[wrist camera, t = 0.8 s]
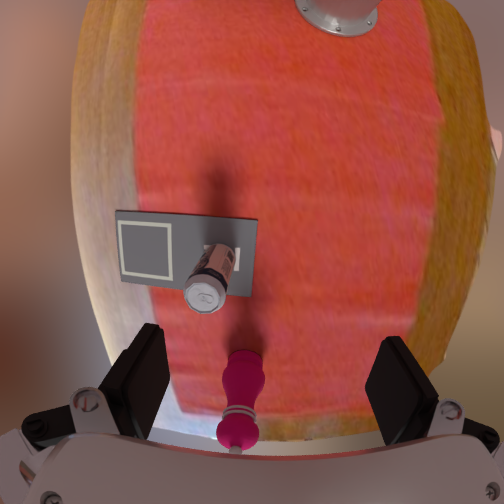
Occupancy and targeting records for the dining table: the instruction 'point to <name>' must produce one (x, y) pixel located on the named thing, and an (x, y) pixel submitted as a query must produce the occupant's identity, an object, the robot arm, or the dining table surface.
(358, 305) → the dining table surface
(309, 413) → the dining table surface
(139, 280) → the slate board
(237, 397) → the pepper mill
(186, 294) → the beer can
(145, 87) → the dining table surface
